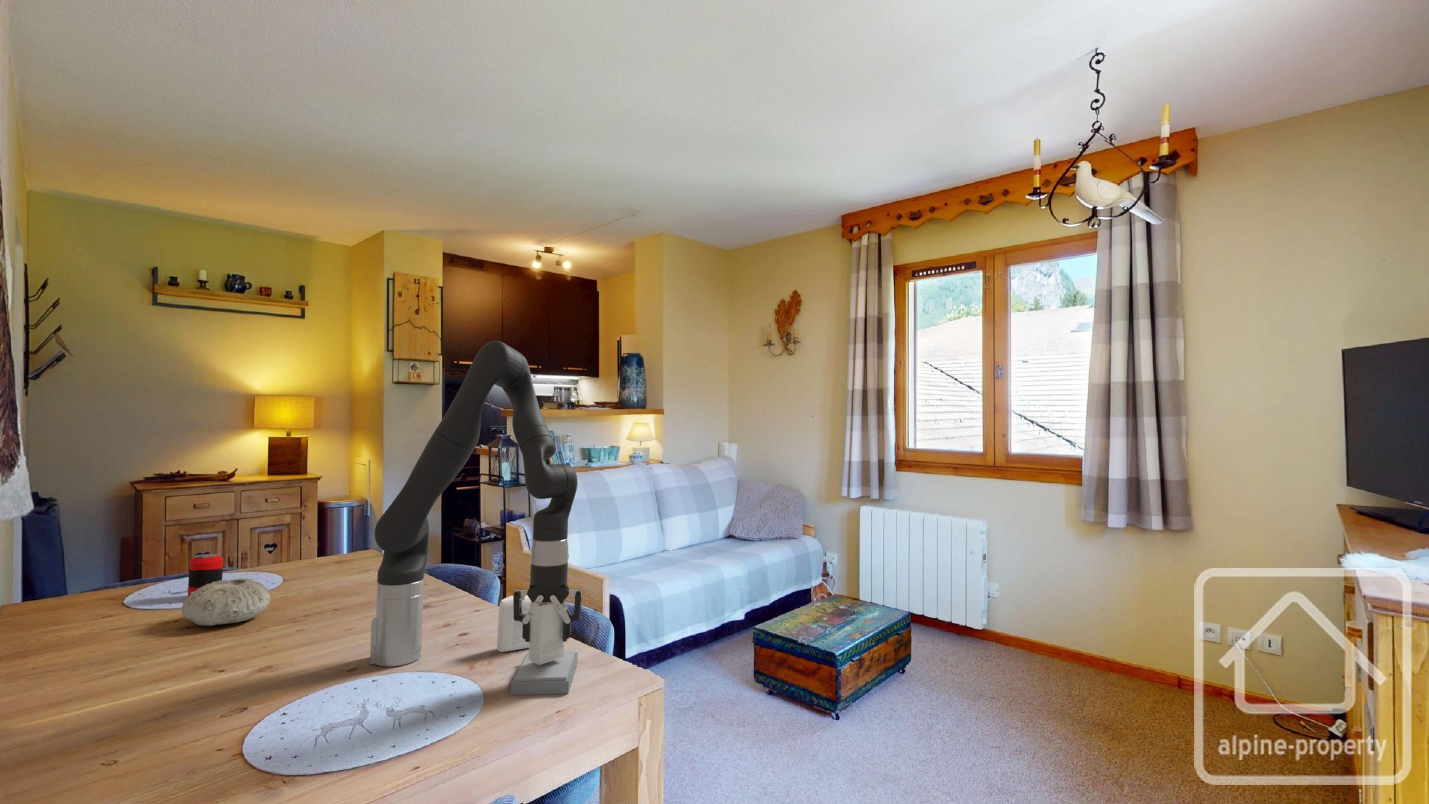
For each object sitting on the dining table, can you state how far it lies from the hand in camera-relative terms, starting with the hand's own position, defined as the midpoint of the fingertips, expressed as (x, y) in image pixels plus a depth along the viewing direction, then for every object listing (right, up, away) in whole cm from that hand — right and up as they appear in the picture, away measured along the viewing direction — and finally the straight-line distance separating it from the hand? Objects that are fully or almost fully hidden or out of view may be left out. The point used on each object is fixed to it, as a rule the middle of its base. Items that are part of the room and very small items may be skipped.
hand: (546, 640), depth 127 cm
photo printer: (-11, -8, +17) cm, 22 cm away
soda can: (-113, -7, +50) cm, 124 cm away
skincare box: (0, -4, 0) cm, 4 cm away
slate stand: (0, -8, 0) cm, 8 cm away
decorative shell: (-91, -7, +30) cm, 96 cm away
